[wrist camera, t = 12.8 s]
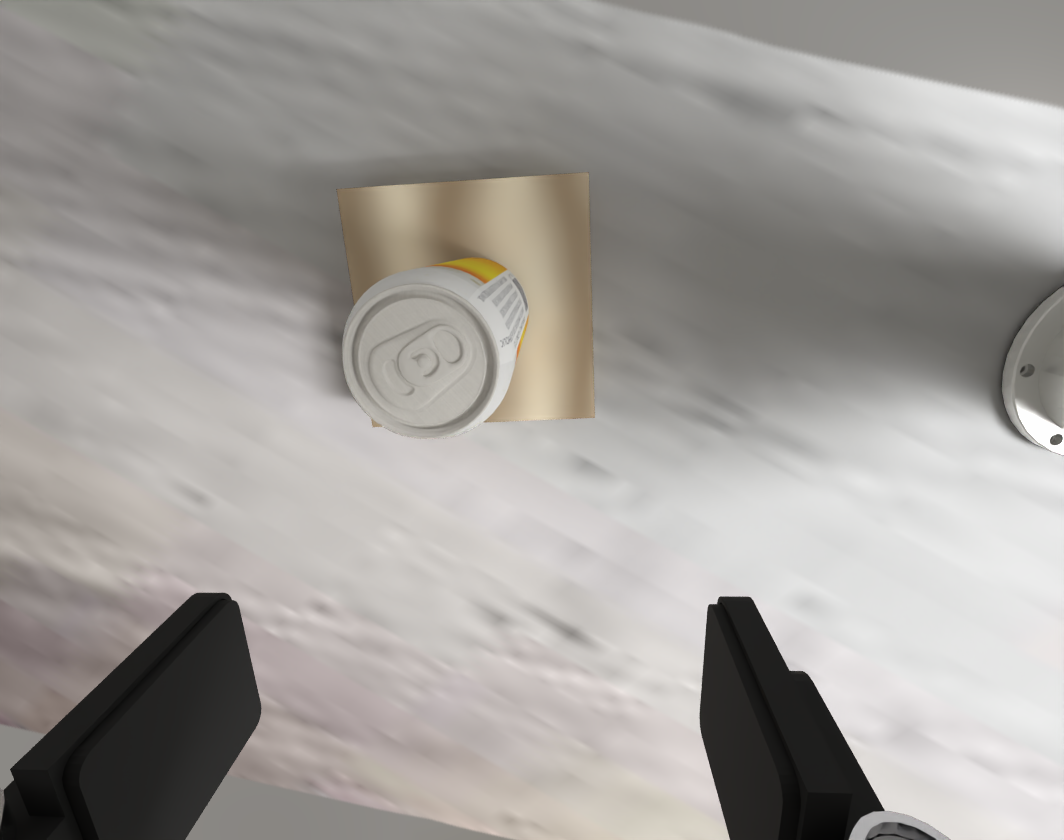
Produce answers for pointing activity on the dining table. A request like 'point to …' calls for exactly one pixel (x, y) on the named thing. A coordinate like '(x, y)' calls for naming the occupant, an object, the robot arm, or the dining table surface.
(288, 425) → the dining table surface
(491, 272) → the beer can
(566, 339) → the birch plinth
